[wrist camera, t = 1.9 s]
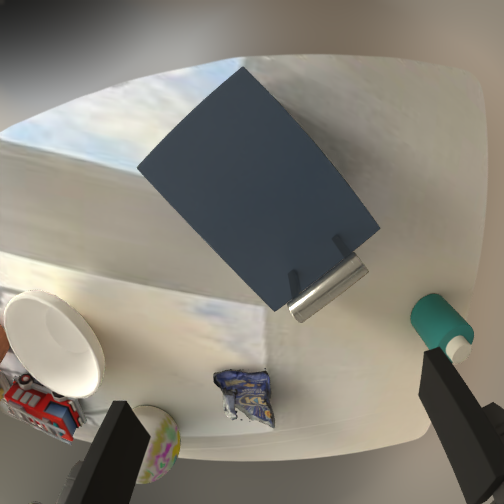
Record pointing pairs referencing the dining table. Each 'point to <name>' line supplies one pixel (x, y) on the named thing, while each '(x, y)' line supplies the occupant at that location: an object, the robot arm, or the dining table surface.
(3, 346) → the potted plant
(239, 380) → the snack package
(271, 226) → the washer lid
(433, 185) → the dining table surface
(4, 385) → the lantern
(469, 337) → the detergent bottle
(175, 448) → the decorative egg
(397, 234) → the dining table surface
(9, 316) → the bowl
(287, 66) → the dining table surface
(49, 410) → the toy fire truck
